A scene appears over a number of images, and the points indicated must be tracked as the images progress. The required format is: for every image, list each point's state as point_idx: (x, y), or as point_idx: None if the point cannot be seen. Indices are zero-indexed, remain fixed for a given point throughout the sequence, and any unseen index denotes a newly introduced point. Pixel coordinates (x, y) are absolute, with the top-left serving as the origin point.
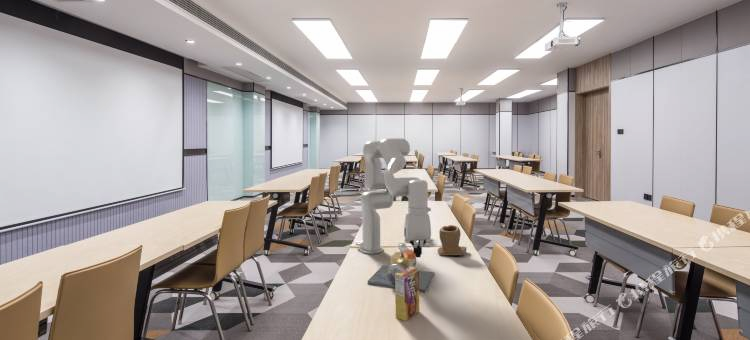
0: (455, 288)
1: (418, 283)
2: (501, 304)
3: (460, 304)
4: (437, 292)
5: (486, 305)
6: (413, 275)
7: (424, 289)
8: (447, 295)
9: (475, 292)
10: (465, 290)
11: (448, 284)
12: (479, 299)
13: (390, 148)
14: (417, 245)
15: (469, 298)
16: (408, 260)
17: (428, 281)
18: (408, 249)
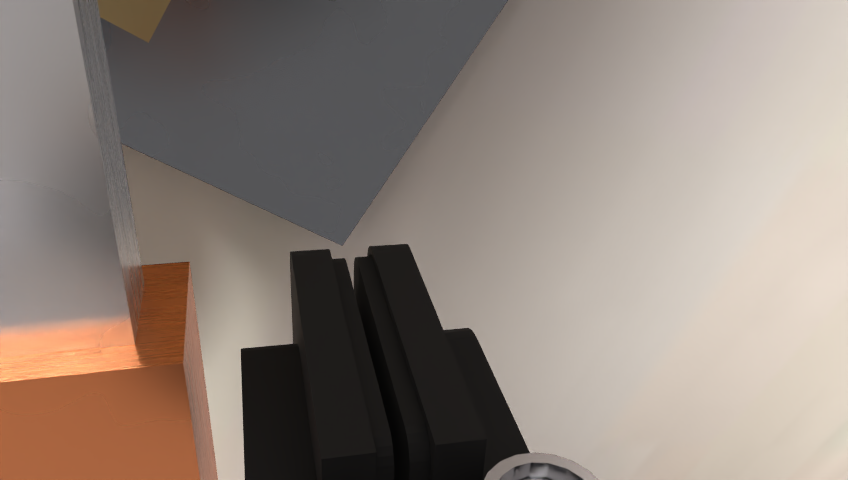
0: (717, 167)
1: None
2: (840, 460)
3: (563, 454)
4: (481, 233)
5: (736, 470)
6: None
7: (337, 237)
8: (547, 305)
9: (827, 273)
10: (776, 224)
11: (713, 50)
12: (759, 389)
13: None
14: (451, 450)
15: (698, 370)
16: (136, 32)
17: (486, 6)
18: (78, 224)
